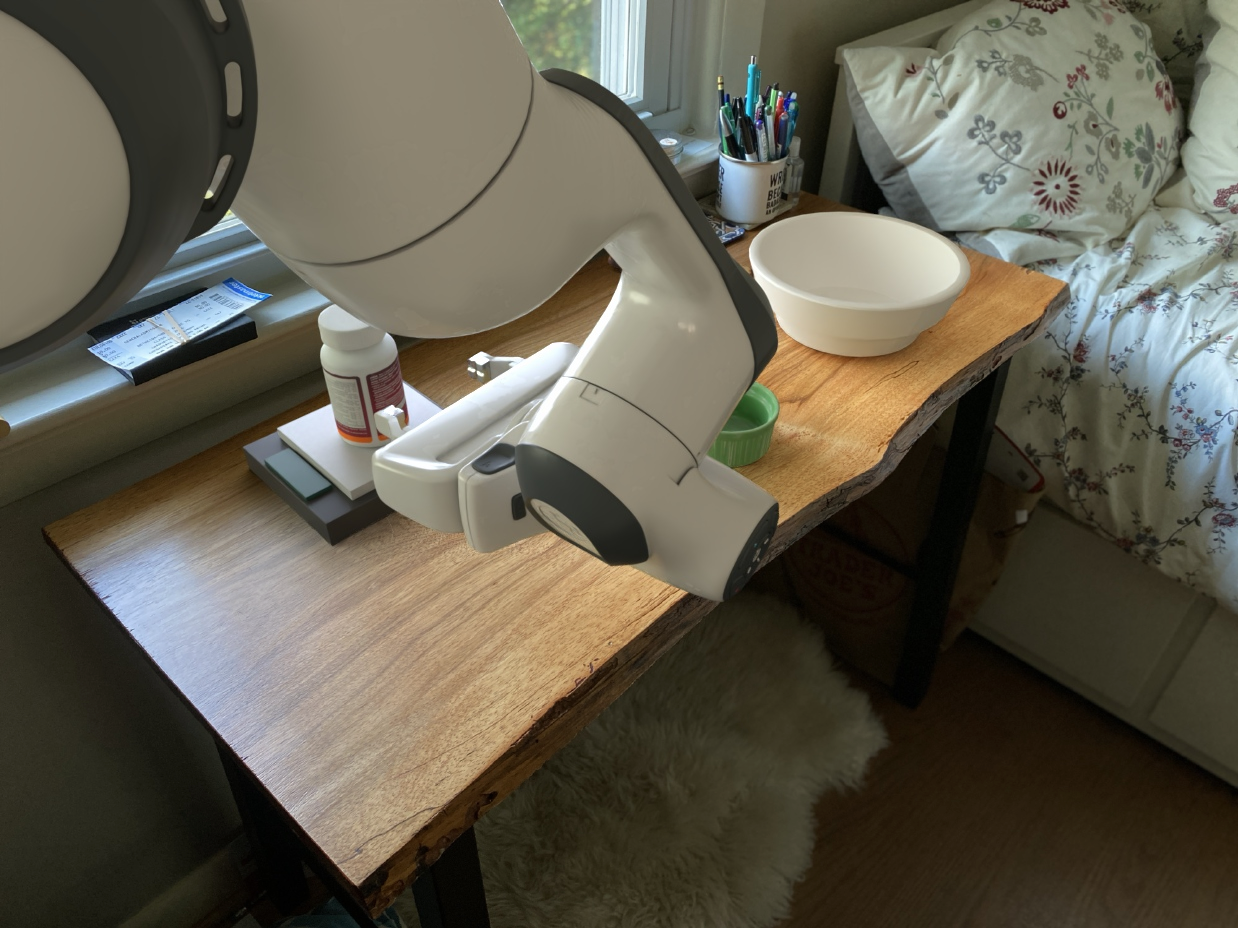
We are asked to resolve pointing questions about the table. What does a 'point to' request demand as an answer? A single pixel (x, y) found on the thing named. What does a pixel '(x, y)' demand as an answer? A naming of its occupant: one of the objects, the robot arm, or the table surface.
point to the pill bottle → (359, 375)
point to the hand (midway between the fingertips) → (429, 389)
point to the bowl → (857, 280)
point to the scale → (327, 470)
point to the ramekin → (747, 428)
